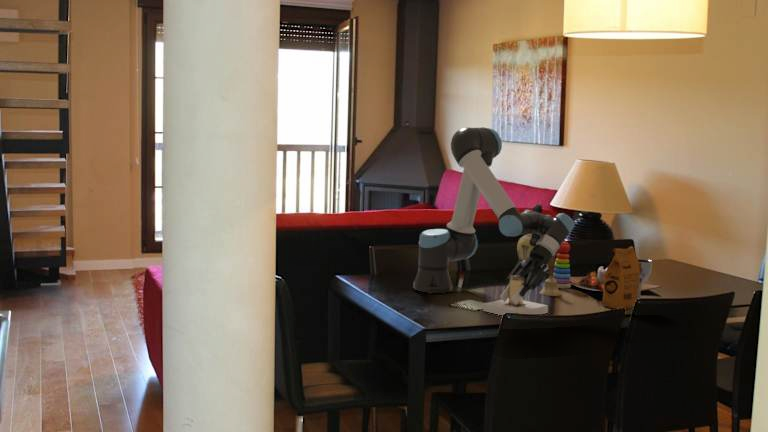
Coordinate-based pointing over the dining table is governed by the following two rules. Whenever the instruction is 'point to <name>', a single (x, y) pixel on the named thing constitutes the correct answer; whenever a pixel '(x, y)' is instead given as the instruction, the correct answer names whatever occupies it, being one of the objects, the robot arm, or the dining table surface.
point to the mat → (474, 305)
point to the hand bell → (550, 282)
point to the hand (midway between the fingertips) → (508, 300)
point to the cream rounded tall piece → (529, 240)
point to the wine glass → (644, 272)
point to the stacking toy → (562, 267)
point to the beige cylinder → (515, 288)
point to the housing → (503, 307)
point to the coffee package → (622, 279)
